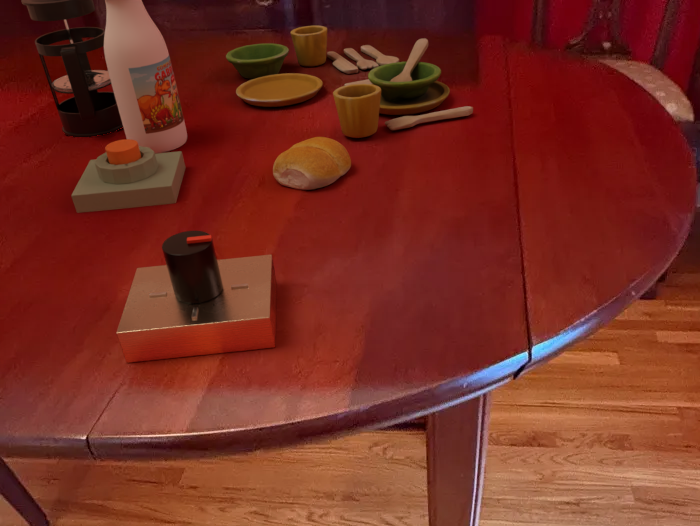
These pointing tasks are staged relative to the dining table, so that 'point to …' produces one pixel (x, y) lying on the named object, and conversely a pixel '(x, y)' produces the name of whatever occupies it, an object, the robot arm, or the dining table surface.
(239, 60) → the tableware set
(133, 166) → the control box
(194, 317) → the panel
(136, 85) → the milk bottle
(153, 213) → the dining table surface
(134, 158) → the button
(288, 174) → the bread roll
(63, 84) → the french press
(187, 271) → the hob knob
